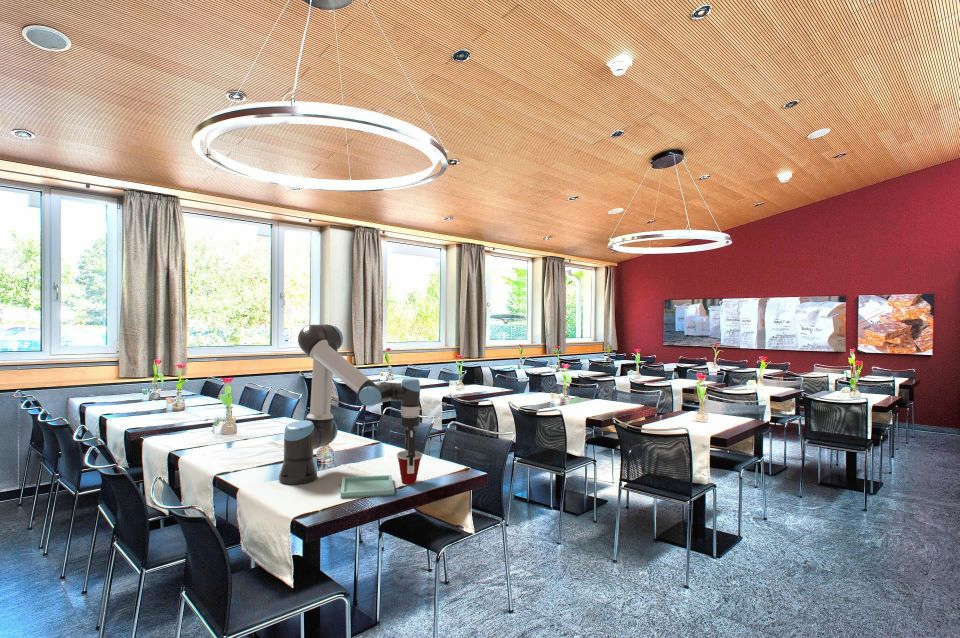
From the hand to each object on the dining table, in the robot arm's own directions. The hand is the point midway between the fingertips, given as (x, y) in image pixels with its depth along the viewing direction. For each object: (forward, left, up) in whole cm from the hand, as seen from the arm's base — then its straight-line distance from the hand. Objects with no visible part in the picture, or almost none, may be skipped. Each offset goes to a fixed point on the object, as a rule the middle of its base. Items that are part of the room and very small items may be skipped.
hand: (409, 469), depth 219 cm
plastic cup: (0, 0, -6) cm, 6 cm away
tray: (-17, -5, -5) cm, 19 cm away
